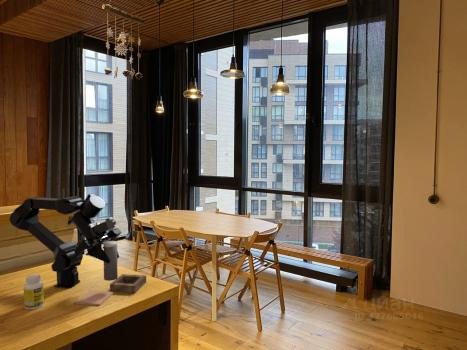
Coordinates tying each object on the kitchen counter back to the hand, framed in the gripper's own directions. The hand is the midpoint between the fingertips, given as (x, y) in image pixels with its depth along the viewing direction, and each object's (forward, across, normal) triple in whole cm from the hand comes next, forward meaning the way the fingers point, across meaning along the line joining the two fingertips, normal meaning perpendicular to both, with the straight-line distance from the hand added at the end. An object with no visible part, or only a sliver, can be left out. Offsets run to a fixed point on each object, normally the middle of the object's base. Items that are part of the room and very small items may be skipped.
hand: (113, 260), depth 120 cm
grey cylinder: (+4, 0, +6) cm, 7 cm away
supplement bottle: (-4, -16, +21) cm, 27 cm away
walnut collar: (+10, +6, +7) cm, 13 cm away
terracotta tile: (+6, -6, +11) cm, 14 cm away
